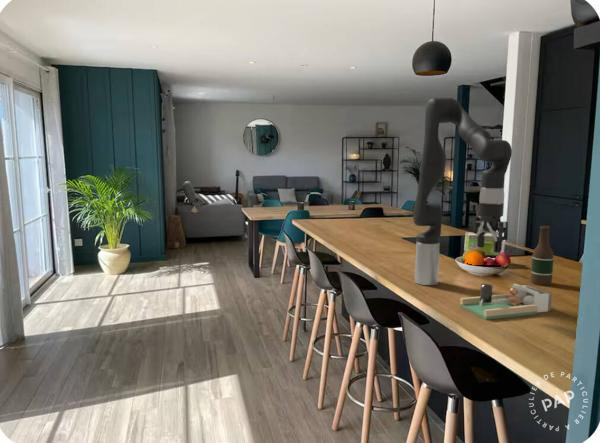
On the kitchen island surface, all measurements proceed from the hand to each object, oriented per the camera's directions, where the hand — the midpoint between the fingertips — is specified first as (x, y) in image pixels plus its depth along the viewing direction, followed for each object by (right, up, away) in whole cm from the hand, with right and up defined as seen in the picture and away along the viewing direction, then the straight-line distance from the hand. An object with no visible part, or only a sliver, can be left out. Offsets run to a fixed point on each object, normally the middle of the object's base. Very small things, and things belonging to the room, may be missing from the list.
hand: (488, 249), depth 157 cm
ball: (+17, -19, +7) cm, 26 cm away
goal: (+17, -20, +8) cm, 28 cm away
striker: (+5, -19, +4) cm, 20 cm away
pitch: (+5, -21, +4) cm, 22 cm away
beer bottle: (+37, -16, +38) cm, 55 cm away
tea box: (+26, -11, +75) cm, 80 cm away
